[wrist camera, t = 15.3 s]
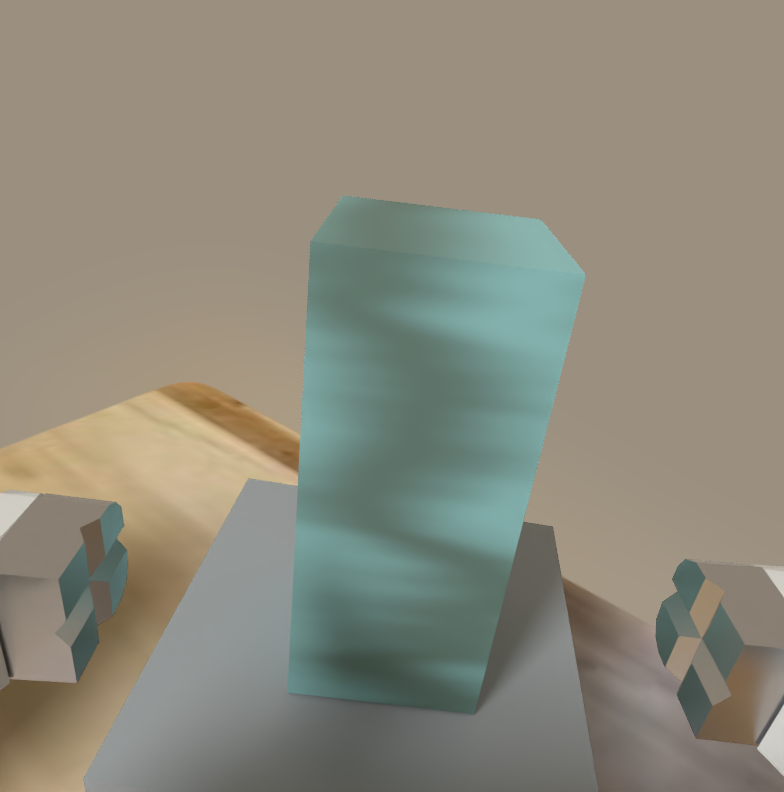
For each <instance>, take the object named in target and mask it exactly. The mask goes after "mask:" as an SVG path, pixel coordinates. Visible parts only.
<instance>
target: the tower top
mask: <svg viewBox="0 0 784 792" xmlns="http://www.w3.org/2000/svg"><path fill="white" fill-rule="evenodd" d="M297 494H298V486H294V485H287V484H281V483H275V482H268V481H262V480H256V479H249V478H248V480H247V482H246V484H245V485H244V487H243V489H242V491H241V493H240V495H239V496H238V498H237V500H236V502H235V504H234V505H233V507H232V509H231V511H230V513H229V515H228V516H227V518H226V520H225V522H224V524H223V525H222V527H221V529H220V531H219V533H218V535H217V536H216V538H215V540H214V542H213V544H212V545H211V547H210V549H209V551H208V553H207V555H206V556H205V558H204V560H203V562H202V564H201V565H200V567H199V569H198V571H197V573H196V575H195V576H194V578H193V580H192V582H191V584H190V585H189V587H188V589H187V591H186V593H185V594H184V596H183V598H182V600H181V602H180V604H179V605H178V607H177V609H176V611H175V613H174V614H173V616H172V618H171V620H170V622H169V624H168V625H167V627H166V629H165V631H164V633H163V634H162V636H161V638H160V640H159V642H158V644H157V645H156V647H155V649H154V651H153V653H152V654H151V656H150V658H149V660H148V662H147V664H146V665H145V667H144V669H143V671H142V673H141V674H140V676H139V678H138V680H137V682H136V684H135V685H134V687H133V689H132V691H131V693H130V694H129V696H128V698H127V700H126V702H125V704H124V705H123V707H122V709H121V711H120V713H119V714H118V716H117V718H116V720H115V722H114V724H113V725H112V727H111V729H110V731H109V733H108V734H107V736H106V738H105V740H104V742H103V743H102V745H101V747H100V749H99V751H98V753H97V754H96V756H95V758H94V760H93V762H92V763H91V765H90V767H89V769H88V771H87V773H86V774H85V776H84V778H83V780H84V785H85V790H86V792H599V789H598V783H597V778H596V772H595V766H594V760H593V755H592V749H591V743H590V738H589V732H588V726H587V720H586V715H585V709H584V703H583V697H582V692H581V686H580V680H579V674H578V669H577V663H576V657H575V651H574V646H573V640H572V634H571V628H570V623H569V617H568V611H567V606H566V600H565V594H564V588H563V583H562V577H561V571H560V565H559V560H558V554H557V548H556V542H555V537H554V531H553V527H552V526H546V525H539V524H533V523H527V522H523V525H522V529H521V533H520V536H519V540H518V544H517V548H516V552H515V556H514V560H513V564H512V568H511V572H510V576H509V580H508V584H507V588H506V592H505V596H504V600H503V604H502V607H501V611H500V615H499V619H498V623H497V627H496V631H495V635H494V639H493V643H492V647H491V651H490V655H489V659H488V663H487V667H486V671H485V675H484V678H483V682H482V686H481V690H480V694H479V698H478V702H477V706H476V710H475V714H468V713H459V712H451V711H442V710H433V709H425V708H416V707H408V706H399V705H390V704H382V703H373V702H365V701H356V700H347V699H339V698H330V697H322V696H313V695H304V694H296V693H287V687H288V668H289V648H290V629H291V610H292V590H293V571H294V552H295V533H296V513H297Z"/></svg>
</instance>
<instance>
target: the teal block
mask: <svg viewBox="0 0 784 792" xmlns="http://www.w3.org/2000/svg"><path fill="white" fill-rule="evenodd" d="M585 276H586V274H585V273H584V272H583V271H582V269H581V268H580V267H579V266H578V265H577V263H576V262H575V261H574V260H573V258H572V257H571V256H570V255H569V253H568V252H567V251H566V250H565V249H564V247H563V246H562V245H561V244H560V243H559V241H558V240H557V239H556V238H555V236H554V235H553V234H552V233H551V231H550V230H549V229H548V228H547V227H546V226H545V224H544V223H543V222H542V221H541V220H539V219H532V218H523V217H515V216H507V215H497V214H491V213H482V212H473V211H465V210H457V209H449V208H441V207H433V206H425V205H417V204H408V203H400V202H392V201H384V200H375V199H367V198H359V197H351V196H342V198H341V199H340V200H339V202H338V203H337V205H336V206H335V207H334V209H333V210H332V212H331V213H330V215H329V216H328V218H327V219H326V220H325V222H324V223H323V224H322V226H321V227H320V229H319V230H318V232H317V233H316V234H315V236H314V237H313V239H312V240H311V245H310V263H309V282H308V283H309V284H308V303H307V321H306V341H305V359H304V379H303V398H302V418H301V436H300V456H299V475H298V494H297V513H296V533H295V552H294V571H293V590H292V610H291V629H290V648H289V668H288V687H287V693H296V694H304V695H313V696H322V697H330V698H339V699H347V700H356V701H365V702H373V703H382V704H390V705H399V706H408V707H416V708H425V709H433V710H442V711H451V712H459V713H468V714H475V710H476V706H477V702H478V698H479V694H480V690H481V686H482V682H483V678H484V675H485V671H486V667H487V663H488V659H489V655H490V651H491V647H492V643H493V639H494V635H495V631H496V627H497V623H498V619H499V615H500V611H501V607H502V604H503V600H504V596H505V592H506V588H507V584H508V580H509V576H510V572H511V568H512V564H513V560H514V556H515V552H516V548H517V544H518V540H519V536H520V533H521V529H522V525H523V520H524V517H525V513H526V509H527V505H528V501H529V497H530V493H531V489H532V485H533V481H534V477H535V473H536V469H537V465H538V461H539V458H540V454H541V449H542V446H543V442H544V438H545V434H546V430H547V426H548V421H549V418H550V414H551V410H552V406H553V402H554V398H555V394H556V391H557V386H558V383H559V379H560V375H561V371H562V367H563V363H564V359H565V354H566V351H567V347H568V343H569V339H570V335H571V331H572V327H573V324H574V319H575V316H576V312H577V308H578V303H579V299H580V296H581V292H582V287H583V284H584V280H585Z"/></svg>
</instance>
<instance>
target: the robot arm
mask: <svg viewBox="0 0 784 792" xmlns="http://www.w3.org/2000/svg"><path fill="white" fill-rule="evenodd" d="M123 526H124V522H123V515H122V508H121V506H120V505H118V504H117V503H116V502H111V501H103V500H95V499H87V498H79V497H70V496H62V495H54V494H41V493H33V492H25V491H16V490H8V491H6V492H3V493H0V690H2V689H3V688H4V687H5V686H7V685H8V684H9V683H10V679H16V680H33V681H49V682H66V683H77V682H78V680H79V678H80V676H81V674H82V673H83V671H84V669H85V667H86V665H87V663H88V661H89V660H90V658H91V656H92V654H93V652H94V650H95V648H96V647H97V645H98V643H99V638H98V631H97V626H98V625H100V624H101V623H103V622H104V621H106V620H107V619H109V618H110V617H112V616H113V614H114V612H115V610H116V608H117V606H118V604H119V602H120V600H121V598H122V594H123V591H124V587H125V583H126V580H127V569H128V559H127V550H126V548H125V547H124V546H123V545H122V544H121V543H120V542H119V541H118V540H117V539H116V538H117V536H118V535H119V533H120V531H121V530H122V528H123ZM672 580H673V582H674V584H675V586H676V589H677V592H676V593H675V594H673V595H672V596H670V597H669V598H667V599H666V600H664V601H663V602H662V605H661V608H660V610H659V613H658V616H657V619H656V641H657V646H658V651H659V654H660V656H661V659H662V661H663V664H664V666H665V668H666V669H667V670H669V671H670V672H671V673H672V674H673V675H674V676H675V677H676V678H678V679H679V680H680V681H681V685H680V687H679V690H678V693H677V696H678V699H679V701H680V703H681V706H682V708H683V710H684V712H685V715H686V717H687V719H688V721H689V724H690V726H691V728H692V731H693V733H694V735H695V737H696V738H697V739H705V740H714V741H722V742H731V743H739V744H748V745H756V746H758V748H757V749H758V750H759V751H760V752H761V753H762V754H763V756H764V757H765V758H766V759H767V760H768V761H769V762H770V763H771V764H772V765H773V766H774V767H775V768H776V769H777V770H778V771H779V772H780V773H781V774H782V775H783V776H784V567H780V566H768V565H745V564H734V563H723V562H713V561H702V560H691V559H685V560H684V561H683V562H682V563H681V564H680V565H679V566H678V567H677V569H676V572H675V574H674V576H673V579H672Z"/></svg>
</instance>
